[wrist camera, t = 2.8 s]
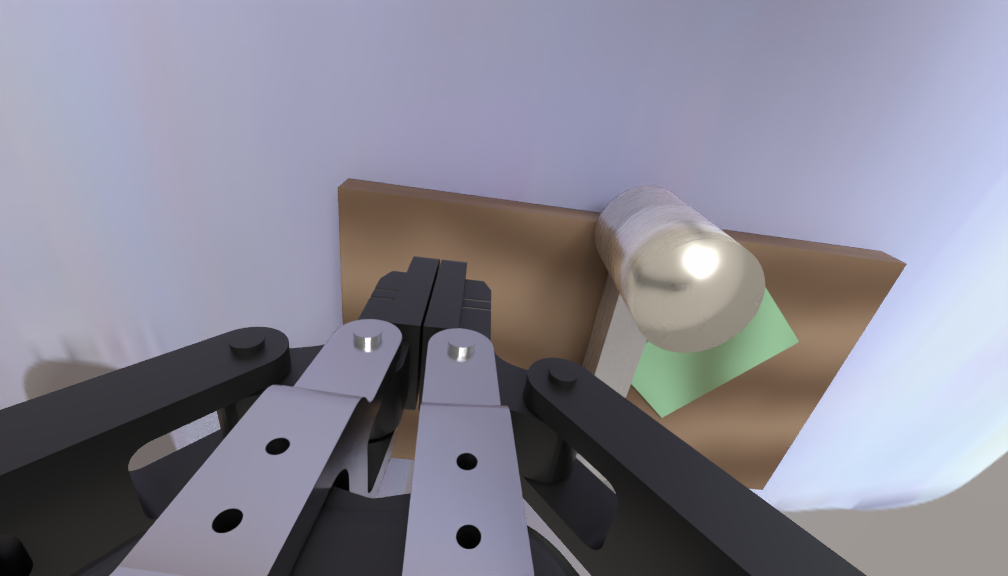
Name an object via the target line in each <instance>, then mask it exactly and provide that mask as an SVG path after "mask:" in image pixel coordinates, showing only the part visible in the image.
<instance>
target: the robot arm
mask: <svg viewBox="0 0 1008 576" xmlns="http://www.w3.org/2000/svg"><path fill="white" fill-rule="evenodd" d="M466 271H467V262H460V261H451V260H443V259H442V260H441V264H440V259H434V258H425V257H417V256H413V258H412V261H411V263H410V265H409V268H408V270H407V272H399V271H391V272H390V273H388V274H386V275H385V276H383V277H381V278H380V280H379V281H378V283H377V285H376V287H375V290H374V291H373V293H372V294H371V298H369V300H368V302H367V304H366V306H365V307H364V309H363V311H362V313H361V315H360V317H359V318H358V320H356V321H352V322H349V323H347V324H344V325H343V326H341V327H339V328H338V329H337V330H336V331H335V332H334V333H333V335H332V336H331V337H330V339H329V340H328V341H327V343H326V344H325V345H320V346H313V347H302V348H291V349H289V341H288V338H287V336H286V335H285V334H284V333H282V332H281V331H279V330H276V329H273V328H267V327H248V328H242V329H237V330H234V331H230V332H227V333H224V334H221V335H219V336H216V337H213V338H210V339H207V340H204V341H201V342H198V343H195V344H192V345H189V346H186V347H183V348H180V349H178V350H175V351H172V352H169V353H166V354H163V355H160V356H157V357H154V358H151V359H148V360H145V361H142V362H139V363H137V364H134V365H131V366H128V367H125V368H122V369H119V370H116V371H113V372H110V373H107V374H105V375H102V376H98V377H96V378H93V379H90V380H87V381H84V382H81V383H78V384H75V385H72V386H69V387H66V388H63V389H61V390H58V391H55V392H52V393H49V394H46V395H43V396H40V397H37V398H35V399H31V400H28V401H25V402H22V403H19V404H16V405H14V406H11V407H8V408H5V409H2V410H0V576H579V574H578V573H577V572H576V571H575V569H574V568H573V567H572V566H571V564H570V563H569V562H568V561H567V559H565V557H564V556H563V555H562V554H561V552H560V551H559V550H557V548H555V547H554V546H553V545H552V544H551V543H550V542H549V541H548V540H547V539H546V538H544V537H543V536H542V535H541V534H539V533H538V532H537V531H535V530H534V529H532V528H530V527H529V526H527V523H526V517H525V509H524V503H523V498H524V499H525V500H526V502H527V503H528V504H529V505H530V506H531V507H532V508H533V510H534V511H535V512H536V513H537V514H538V515H539V516H540V517H541V518H542V520H543V521H544V522H545V523H546V524H547V525H548V526H549V528H550V529H551V530H552V531H553V532H554V533H555V535H556V536H557V537H558V538H559V539H560V540H561V541H562V542H563V544H564V545H565V546H566V547H567V548H568V549H569V551H570V552H571V553H572V554H573V555H574V556H575V557H576V559H577V560H578V561H579V562H580V563H581V564H582V565H583V566H584V568H585V569H586V570H587V571H588V572H589V573H590V574H591V576H866V575H865V574H864V573H862V572H861V571H860V570H858V569H857V568H856V567H854V566H853V565H851V564H850V563H849V562H847V561H846V560H845V559H843V558H842V557H841V556H839V555H838V554H837V553H835V552H834V551H832V550H831V549H830V548H828V547H827V546H826V545H824V544H823V543H821V542H820V541H819V540H817V539H816V538H815V537H813V536H812V535H811V534H809V533H808V532H807V531H805V530H804V529H802V528H801V527H800V526H798V525H797V524H796V523H794V522H793V521H792V520H790V519H789V518H787V517H786V516H785V515H784V514H782V513H781V512H779V511H778V510H777V509H775V508H774V507H773V506H771V505H770V504H769V503H767V502H766V501H764V500H763V499H762V498H760V497H759V496H758V495H756V494H755V493H754V492H752V491H751V490H750V489H748V488H747V487H745V486H744V485H743V484H741V483H740V482H739V481H737V480H736V479H735V478H733V477H732V476H731V475H729V474H728V473H726V472H725V471H724V470H722V469H721V468H720V467H718V466H717V465H716V464H714V463H713V462H711V461H710V460H709V459H707V458H706V457H705V456H703V455H702V454H701V453H699V452H698V451H697V450H695V449H694V448H692V447H691V446H690V445H688V444H687V443H686V442H684V441H683V440H682V439H680V438H679V437H678V436H676V435H675V434H673V433H672V432H671V431H669V430H668V429H667V428H665V427H664V426H663V425H661V424H660V423H659V422H657V421H656V420H654V419H653V418H652V417H650V416H649V415H648V414H646V413H645V412H644V411H642V410H641V409H639V408H638V407H637V406H635V405H634V404H633V403H631V402H630V401H629V400H627V399H626V398H625V397H623V396H622V395H620V394H619V393H618V392H616V391H615V390H614V389H612V388H611V387H610V386H608V385H607V384H606V383H604V382H603V381H601V380H600V379H599V378H597V377H596V376H595V375H593V374H592V373H591V372H589V371H588V370H586V369H585V368H584V367H582V366H581V365H579V364H577V363H575V362H572V361H570V360H566V359H561V358H544V359H540V360H538V361H536V362H534V363H533V364H532V365H531V366H530V367H529V370H526V369H523V368H520V367H517V366H514V365H512V364H510V363H508V362H506V361H504V360H503V359H501V358H500V357H499V356H498V355H497V354H496V353H495V352H494V348H493V345H492V343H491V290H490V288H489V287H488V286H487V284H486V283H485V282H484V281H478V280H469V279H466ZM418 396H419V407H418V410H420V415H419V424H418V434H417V443H416V452H415V462H414V471H413V480H412V489H411V493H410V494H403V495H396V496H390V497H383V498H376V496H377V493H378V490H379V488H380V485H381V482H382V479H383V477H384V474H385V471H386V468H387V466H388V463H389V460H390V457H391V455H392V452H393V449H394V446H395V444H396V441H397V438H398V430H399V424H400V422H401V419H402V415H403V412H404V409H408V410H415V409H416V405H417V401H418ZM215 411H217V414H218V418H219V423H220V427H221V429H220V430H218V431H216V432H214V433H212V434H210V435H208V436H206V437H204V438H202V439H200V440H198V441H196V442H194V443H192V444H190V445H188V446H186V447H184V448H182V449H180V450H178V451H175V452H173V453H171V454H169V455H168V456H165V457H163V458H161V459H159V460H157V461H155V462H153V463H151V464H149V465H147V466H145V467H143V468H141V469H138V470H134V471H128V464H129V461H130V459H131V457H132V456H133V455H134V453H135V452H136V451H137V450H138V449H139V448H141V447H142V446H143V445H145V444H146V443H148V442H150V441H152V440H154V439H156V438H158V437H160V436H163V435H165V434H167V433H169V432H171V431H174V430H176V429H178V428H180V427H182V426H184V425H187V424H189V423H191V422H193V421H195V420H197V419H200V418H202V417H204V416H206V415H208V414H210V413H213V412H215ZM577 453H578V454H580V455H581V456H582V457H583V458H584V459H585V460H586V461H587V462H588V463H589V464H590V465H592V466H593V467H594V468H595V469H596V470H597V471H598V472H599V473H600V474H601V475H602V476H603V477H605V478H606V479H607V480H608V482H609V483H610V484H611V485H612V487H613V489H614V491H615V493H616V494H615V493H614V492H613V491H612V490H611V489H610V488H608V487H607V486H606V485H605V484H604V483H603V482H602V481H601V480H600V479H599V478H598V477H597V476H596V475H595V474H593V473H592V472H591V471H590V470H589V469H588V468H587V467H586V466H585V465H584V464H583V463H582V462H581V461H580V460H578V459H577V458H576V455H577Z"/></svg>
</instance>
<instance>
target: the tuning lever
mask: <svg viewBox="0 0 1008 576" xmlns="http://www.w3.org/2000/svg"><path fill="white" fill-rule="evenodd" d="M595 244H596V248H597V250H598V253H599V255H600V257H601V258H602V260H603V262H604V264H605V266H606V268H607V270H608V272H609V273H608V276H607V280H606V283H605V287H604V290H603V294H602V297H601V301H600V304H599V308H598V311H597V315H596V318H595V322H594V325H593V329H592V332H591V336H590V339H589V343H588V346H587V350H586V353H585V357H584V360H583V364H582V367H584V368H585V369H586V370H588V371H589V372H591V373H592V374H593V375H595V376H596V377H597V378H599V379H600V380H601V381H603V382H604V383H606V384H607V385H608V386H610V387H611V388H612V389H614V390H615V391H616V392H618V393H619V394H620V395H622V396H623V397H625V398H626V396H627V393H628V391H629V388H630V385H631V382H632V379H633V377H634V374H635V371H636V368H637V366H638V363H639V360H640V357H641V355H642V352H643V349H644V346H645V343H646V341H647V340H648V341H649V342H650V343H652V344H654V345H655V346H657V347H659V348H661V349H664V350H667V351H671V352H677V353H693V352H699V351H704V350H708V349H711V348H714V347H716V346H719V345H721V344H723V343H725V342H727V341H728V340H730V339H732V338H733V337H734V336H736V335H737V334H738V333H740V332H741V331H742V330H743V329H744V328H745V327H746V326H747V325H748V324H749V323H750V322H751V320H752V319H753V318H754V316H755V315H756V313H757V311H758V309H759V308H760V305H761V303H762V300H763V296H764V292H765V277H764V272H763V269H762V267H761V265H760V263H759V261H758V260H757V258H756V257H755V256H754V255H753V254H752V253H751V252H750V251H748V250H747V249H746V248H744V247H743V246H742V245H740V244H739V243H738V242H736V241H735V240H734V239H733V238H731V237H730V236H729V235H727V234H726V233H725V232H723V231H722V230H721V229H719V228H718V227H717V226H715V225H714V224H713V223H712V222H710V221H709V220H708V219H706V218H705V217H704V216H702V215H701V214H700V213H698V212H697V211H696V210H694V209H693V208H692V207H691V206H689V205H688V204H687V203H685V202H684V201H683V200H681V199H680V198H679V197H677V196H676V195H675V194H673V193H672V192H670V191H669V190H667V189H664V188H661V187H657V186H640V187H635V188H632V189H629V190H627V191H625V192H623V193H621V194H619V195H618V196H617V197H615V198H614V199H613V200H612V201H611V202H610V203H609V204H608V205H607V206H606V207H605V208H604V210H603V211H602V213H601V215H600V217H599V219H598V221H597V224H596V229H595ZM576 458H577V459H578V460H580V461H581V462H582V463H583V464H584V465H585V466H586V467H587V468H588V469H589V470H590V471H591V472H592V473H593V474H595V475H596V476H597V477H598V478H599V479H600V480H601V481H602V482H603V483H604V484H605V485H606V486H607V487H608V488H610V489H611V490H612V491H613V492H615V491H614V489H613V487H612V485H611V484H610V483H609V482H608V480H607V479H606V478H605V477H603V476H602V475H601V474H600V473H599V472H598V471H597V470H596V469H595V468H594V467H593V466H592V465H590V464H589V463H588V462H587V461H586V460H585V459H584V458H583V457H582V456H581V455H580V454H578V453H577V455H576Z"/></svg>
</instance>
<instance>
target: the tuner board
mask: <svg viewBox="0 0 1008 576" xmlns="http://www.w3.org/2000/svg"><path fill="white" fill-rule="evenodd" d="M338 203H339V231H340V258H341V285H342V312H343V325H344V324H347V323H349V322H352V321H356V320H358V318H359V317H360V315H361V313H362V311H363V309H364V307H365V306H366V304H367V302H368V300H369V298H371V294H372V293H373V291H374V290H375V287H376V285H377V283H378V281H379V280H380V278H381V277H383V276H385V275H386V274H388V273H390V272H391V271H399V272H407V270H408V268H409V265H410V263H411V261H412V258H413V256H417V257H425V258H434V259H440V264H441V260H442V259H443V260H451V261H460V262H467V271H466V279H469V280H478V281H484V282H485V283H486V284H487V286H488V287H489V288H490V290H491V343H492V345H493V348H494V352H495V353H496V354H497V355H498V356H499V357H500V358H501V359H503V360H504V361H506V362H508V363H510V364H512V365H514V366H517V367H520V368H523V369H526V370H529V367H530V366H531V365H532V364H533V363H534V362H536V361H538V360H540V359H544V358H561V359H566V360H570V361H572V362H575V363H577V364H579V365H581V366H582V364H583V360H584V357H585V353H586V350H587V346H588V343H589V339H590V336H591V332H592V329H593V325H594V322H595V318H596V315H597V311H598V308H599V304H600V301H601V297H602V294H603V290H604V287H605V283H606V280H607V276H608V273H609V272H608V270H607V268H606V266H605V264H604V262H603V260H602V258H601V257H600V255H599V253H598V250H597V248H596V244H595V229H596V224H597V221H598V219H599V217H600V215H601V213H598V212H590V211H583V210H576V209H568V208H561V207H554V206H546V205H539V204H532V203H524V202H517V201H510V200H502V199H495V198H488V197H481V196H473V195H466V194H459V193H451V192H444V191H437V190H429V189H422V188H415V187H407V186H400V185H393V184H385V183H378V182H371V181H363V180H356V179H348V180H346V181H345V182H344V183H343V184H341V185H340V186H339V187H338ZM721 230H722V229H721ZM722 231H723V232H725V233H726V234H727V235H729V236H730V237H731V238H733V239H734V240H735V241H736V242H738V243H739V244H740V245H742V246H743V247H744V248H746V249H747V250H748V251H750V252H751V253H752V254H753V255H754V256H755V257H756V258H757V260H758V261H759V263H760V265H761V267H762V269H763V272H764V277H765V292H764V296H763V300H762V303H761V305H760V308H759V309H758V311H757V313H756V315H755V316H754V318H753V319H752V320H751V322H750V323H749V324H748V325H747V326H746V327H745V328H744V329H743V330H742V331H741V332H740V333H738V334H737V335H736V336H734V337H733V338H732V339H730V340H728V341H727V342H725V343H723V344H721V345H719V346H716V347H714V348H711V349H708V350H704V351H699V352H693V353H677V352H671V351H667V350H664V349H661V348H659V347H657V346H655V345H654V344H652V343H650V342H649V341H648V340H647V341H646V343H645V346H644V349H643V352H642V355H641V357H640V360H639V363H638V366H637V368H636V371H635V374H634V377H633V379H632V382H631V385H630V388H629V391H628V393H627V396H626V399H627V400H629V401H630V402H631V403H633V404H634V405H635V406H637V407H638V408H639V409H641V410H642V411H644V412H645V413H646V414H648V415H649V416H650V417H652V418H653V419H654V420H656V421H657V422H659V423H660V424H661V425H663V426H664V427H665V428H667V429H668V430H669V431H671V432H672V433H673V434H675V435H676V436H678V437H679V438H680V439H682V440H683V441H684V442H686V443H687V444H688V445H690V446H691V447H692V448H694V449H695V450H697V451H698V452H699V453H701V454H702V455H703V456H705V457H706V458H707V459H709V460H710V461H711V462H713V463H714V464H716V465H717V466H718V467H720V468H721V469H722V470H724V471H725V472H726V473H728V474H729V475H731V476H732V477H733V478H735V479H736V480H737V481H739V482H740V483H741V484H743V485H744V486H745V487H747V488H748V489H760V490H763V488H764V487H765V485H766V484H767V482H768V481H769V479H770V477H771V476H772V474H773V473H774V471H775V470H776V468H777V466H778V465H779V463H780V462H781V460H782V459H783V457H784V455H785V454H786V452H787V451H788V449H789V448H790V446H791V444H792V443H793V441H794V440H795V438H796V437H797V435H798V434H799V432H800V430H801V429H802V427H803V426H804V424H805V423H806V421H807V419H808V418H809V416H810V415H811V413H812V412H813V410H814V408H815V407H816V405H817V404H818V402H819V401H820V399H821V397H822V396H823V394H824V393H825V391H826V390H827V388H828V387H829V385H830V383H831V382H832V380H833V379H834V377H835V376H836V374H837V372H838V371H839V369H840V368H841V366H842V365H843V363H844V361H845V360H846V358H847V357H848V355H849V354H850V352H851V350H852V349H853V347H854V346H855V344H856V343H857V341H858V339H859V338H860V336H861V335H862V333H863V332H864V330H865V329H866V327H867V325H868V324H869V322H870V321H871V319H872V318H873V316H874V314H875V313H876V311H877V310H878V308H879V307H880V305H881V303H882V302H883V300H884V299H885V297H886V296H887V294H888V292H889V291H890V289H891V288H892V286H893V285H894V283H895V282H896V280H897V278H898V277H899V275H900V274H901V272H902V271H903V269H904V267H905V266H906V263H904V262H902V261H900V260H898V259H896V258H894V257H892V256H890V255H888V254H886V253H884V252H882V251H876V250H869V249H861V248H854V247H847V246H839V245H832V244H825V243H817V242H810V241H803V240H795V239H788V238H781V237H773V236H766V235H759V234H751V233H744V232H737V231H729V230H722ZM418 407H419V396H418V401H417V405H416V409H415V410H408V409H404V412H403V415H402V419H401V422H400V424H399V430H398V438H397V441H396V444H395V446H394V449H393V452H392V455H391V457H390V458H402V459H413V460H415V452H416V443H417V434H418V424H419V415H420V410H418Z"/></svg>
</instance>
